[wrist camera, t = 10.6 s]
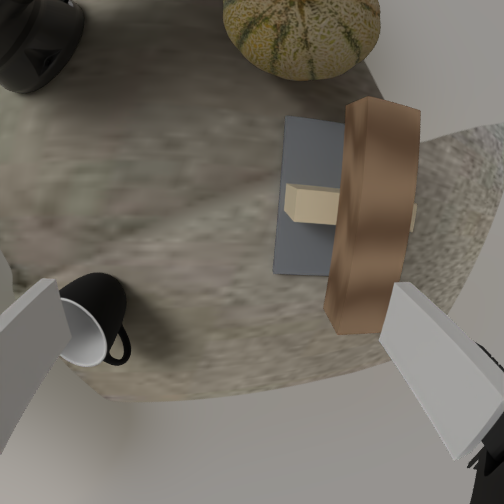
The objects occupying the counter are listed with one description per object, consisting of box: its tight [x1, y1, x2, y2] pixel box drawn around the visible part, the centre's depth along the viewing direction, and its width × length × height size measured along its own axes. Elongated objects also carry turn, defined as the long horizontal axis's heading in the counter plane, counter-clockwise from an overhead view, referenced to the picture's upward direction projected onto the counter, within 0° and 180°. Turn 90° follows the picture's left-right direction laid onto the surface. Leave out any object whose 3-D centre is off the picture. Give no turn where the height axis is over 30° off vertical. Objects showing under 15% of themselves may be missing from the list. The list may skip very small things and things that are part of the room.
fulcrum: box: [273, 116, 417, 276], centre depth 29 cm, size 18×14×7 cm
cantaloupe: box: [223, 0, 381, 81], centre depth 19 cm, size 15×15×15 cm
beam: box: [323, 96, 421, 335], centre depth 24 cm, size 20×5×5 cm, turn 177°
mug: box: [59, 273, 131, 367], centre depth 31 cm, size 12×9×10 cm
